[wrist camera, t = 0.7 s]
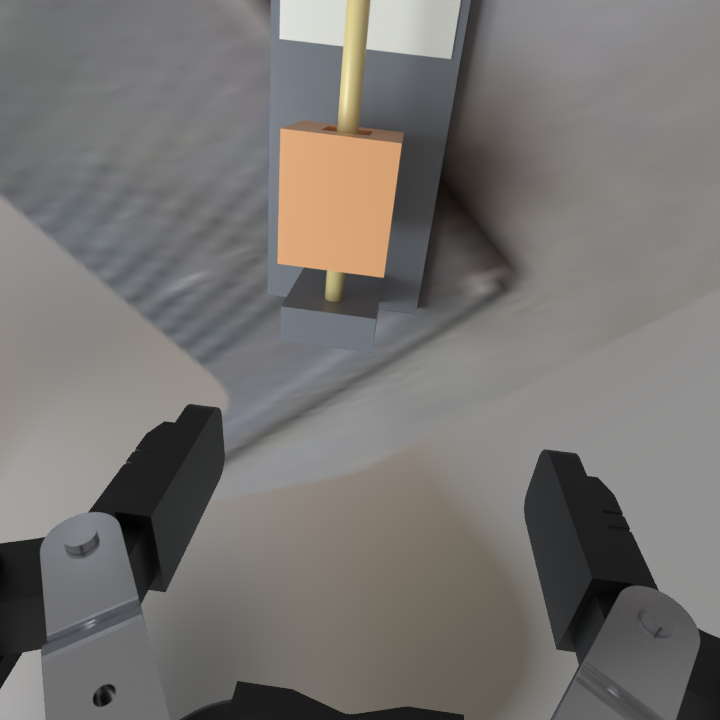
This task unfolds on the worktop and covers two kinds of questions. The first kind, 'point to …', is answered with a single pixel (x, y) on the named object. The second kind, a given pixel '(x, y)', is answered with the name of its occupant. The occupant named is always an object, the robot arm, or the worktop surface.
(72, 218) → the worktop surface
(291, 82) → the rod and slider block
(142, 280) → the worktop surface
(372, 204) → the sleeve
